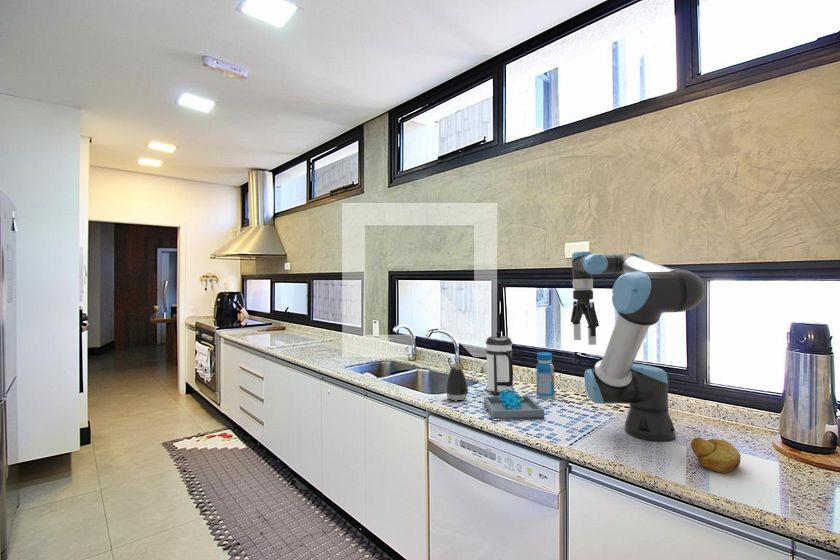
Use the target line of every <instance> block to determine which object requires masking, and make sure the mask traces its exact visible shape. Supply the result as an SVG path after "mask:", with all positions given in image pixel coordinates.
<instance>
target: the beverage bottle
mask: <svg viewBox="0 0 840 560" xmlns="http://www.w3.org/2000/svg"><path fill="white" fill-rule="evenodd" d="M536 356H537V357H536V359H537V361H538V362H537V363H536V366H535V369H536V371H535V376H536V377H535V378H536V381H535V383H536V396H537V397H539V398H543V399H552V398H554V397H555V396H556V391H555V388H556V387H555V371H554V370H555V366H554V364H553V363H552V361H553V353H551V352H547V351H542V352H537V354H536Z"/></svg>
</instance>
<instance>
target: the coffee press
mask: <svg viewBox="0 0 840 560" xmlns="http://www.w3.org/2000/svg"><path fill="white" fill-rule="evenodd" d="M501 334H502V332H501V331H500V330H497V331H496V335H492V336H489V337H488V338H487V339H486V341H485V344H486V349H485V351H486V352H485V353H486V374H487V375H486V377H487V379H486V381H487V383H486V384H487V385H486V388H484V390H485V391H486V390H488V391H492V392H493V397H498V396H499V393H502V392H501V391H502V390H505V393H507V392H506V389H509V392H508V393H511V391H512V390H513V391H515V392H514V394H513V395H516V390H515V389H514V383H513V382H514V366H513V365H514V363H513V349H512V345H513V341H512V339H511V338H510V337H508V336H505V335H501Z"/></svg>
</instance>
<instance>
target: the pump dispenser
mask: <svg viewBox="0 0 840 560" xmlns="http://www.w3.org/2000/svg"><path fill="white" fill-rule="evenodd" d="M468 389H469V388H468V383H467V379H466V375H465V373H464V371H463V369H462V368H460V367H459V366H451V367H450V371H449V373H448V375H447V378H446V383H445V393H446V395H447V398H448V399H449V400H450V399H451V400H450V401H452V400H462V401H464V400H465V399H466V398H467V395H468V393H469V390H468Z"/></svg>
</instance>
